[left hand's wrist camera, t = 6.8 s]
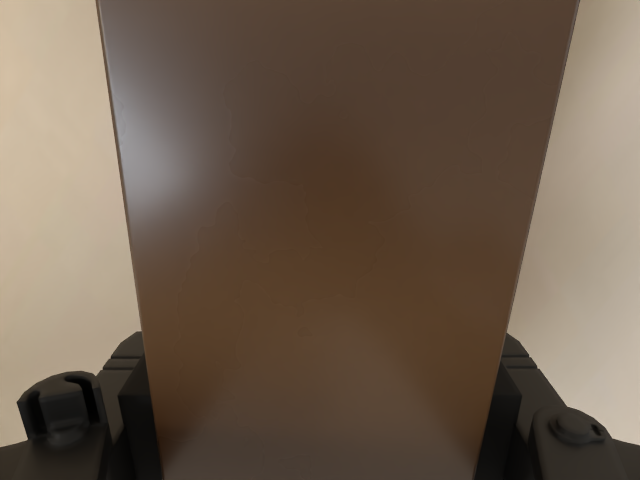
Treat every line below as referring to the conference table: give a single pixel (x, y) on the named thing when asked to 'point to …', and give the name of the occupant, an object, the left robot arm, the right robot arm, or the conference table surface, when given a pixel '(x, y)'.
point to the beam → (328, 222)
